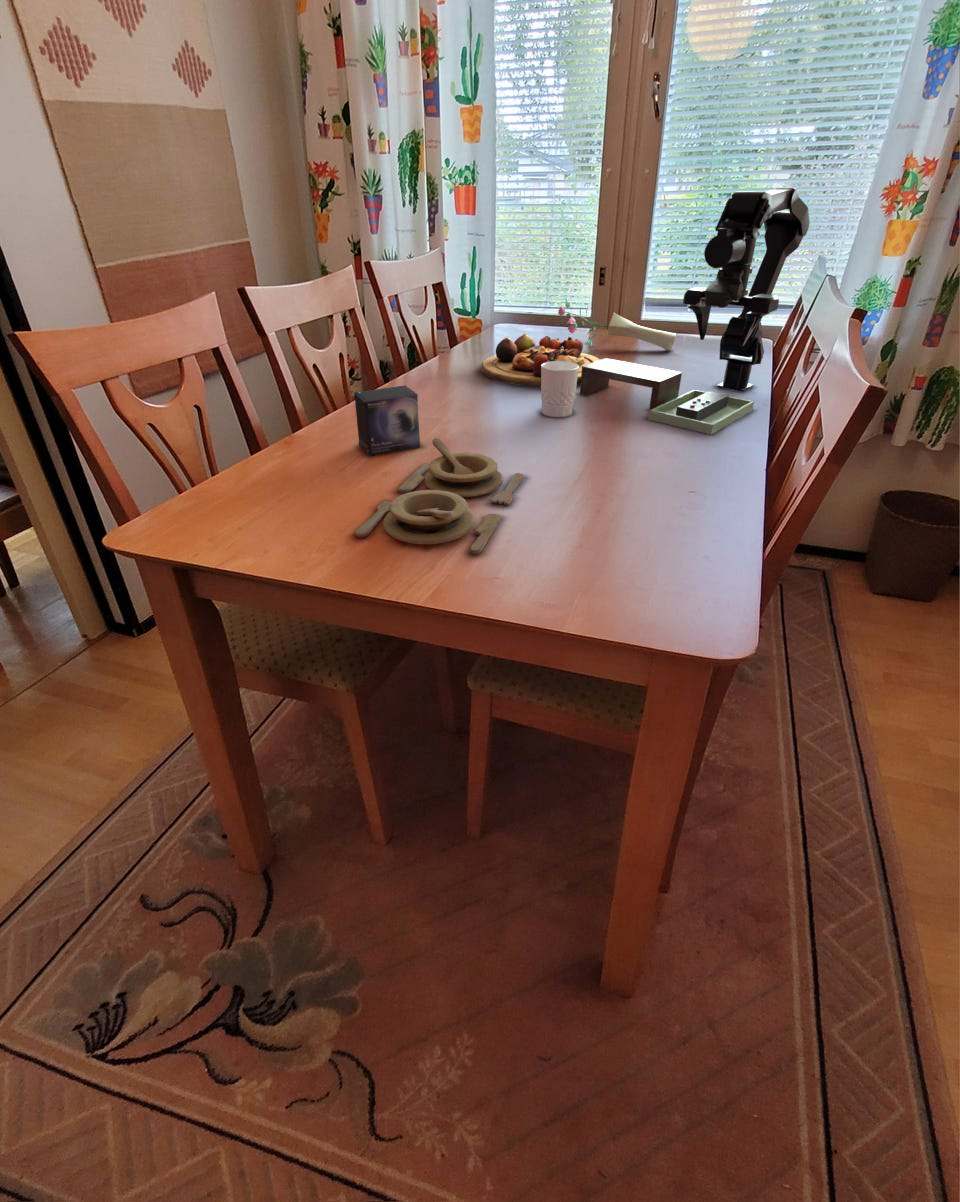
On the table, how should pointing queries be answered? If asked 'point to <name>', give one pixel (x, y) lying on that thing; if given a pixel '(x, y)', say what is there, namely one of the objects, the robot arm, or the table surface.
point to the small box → (387, 419)
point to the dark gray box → (703, 406)
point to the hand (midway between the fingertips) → (721, 342)
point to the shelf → (631, 379)
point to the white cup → (558, 388)
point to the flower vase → (625, 329)
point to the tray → (707, 425)
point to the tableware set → (443, 500)
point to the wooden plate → (532, 359)
